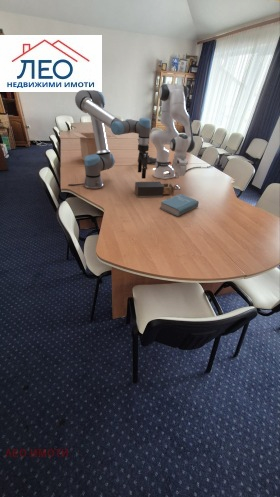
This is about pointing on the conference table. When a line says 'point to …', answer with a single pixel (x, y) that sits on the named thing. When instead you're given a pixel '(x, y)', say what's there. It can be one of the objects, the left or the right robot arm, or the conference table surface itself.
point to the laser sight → (150, 159)
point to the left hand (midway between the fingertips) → (141, 175)
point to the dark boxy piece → (149, 189)
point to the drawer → (169, 188)
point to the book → (179, 204)
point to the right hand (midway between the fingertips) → (176, 177)
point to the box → (87, 142)
